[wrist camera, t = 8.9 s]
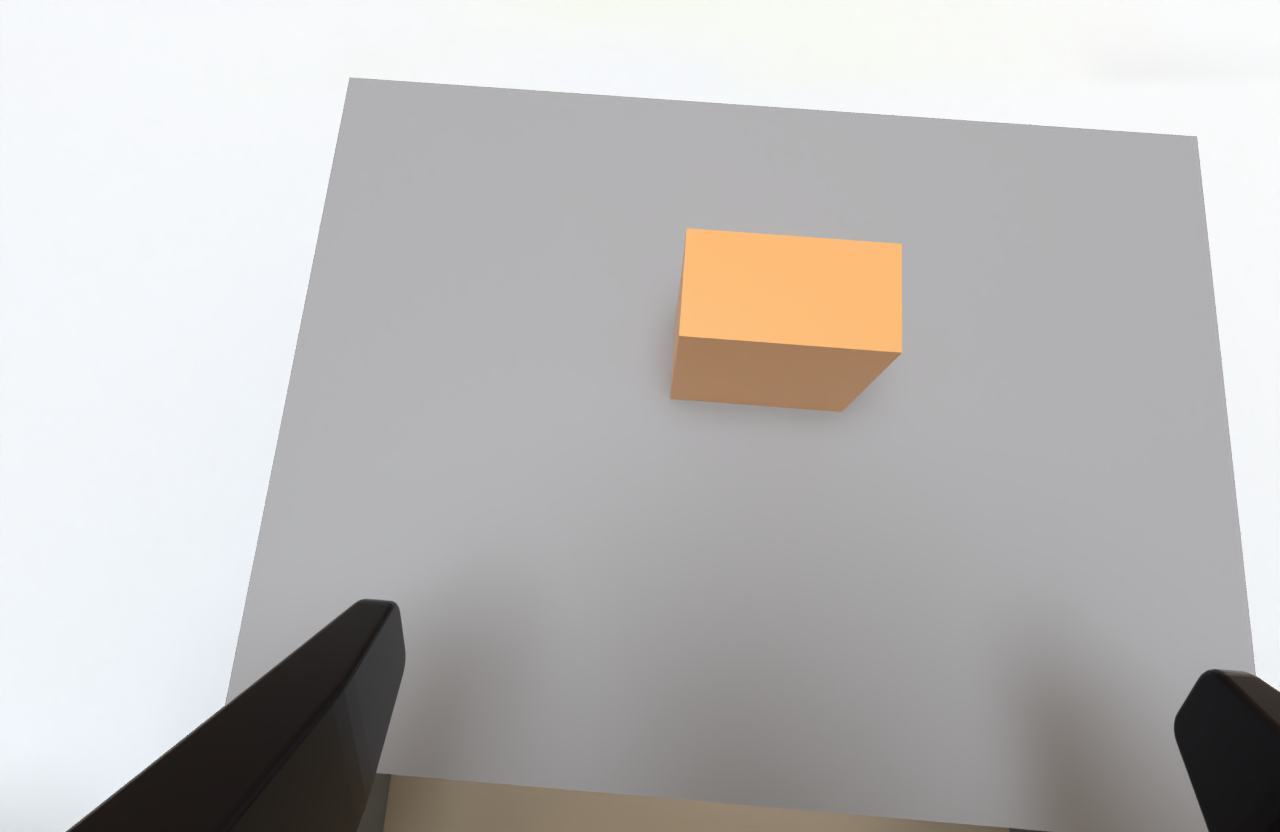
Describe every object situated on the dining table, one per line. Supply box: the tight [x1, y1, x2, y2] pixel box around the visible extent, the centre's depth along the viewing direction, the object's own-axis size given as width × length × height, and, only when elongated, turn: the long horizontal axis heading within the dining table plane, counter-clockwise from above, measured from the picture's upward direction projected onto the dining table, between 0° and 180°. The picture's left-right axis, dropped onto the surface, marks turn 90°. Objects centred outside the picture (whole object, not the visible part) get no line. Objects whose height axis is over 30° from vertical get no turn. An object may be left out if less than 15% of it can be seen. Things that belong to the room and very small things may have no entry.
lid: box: [225, 78, 1256, 832], centre depth 12 cm, size 12×16×4 cm
